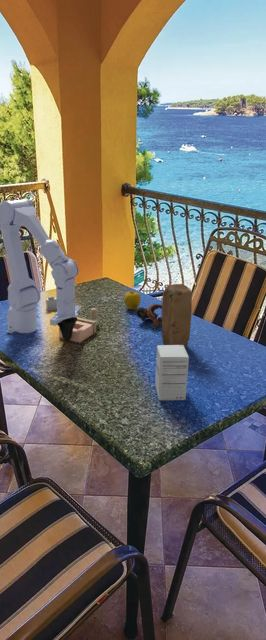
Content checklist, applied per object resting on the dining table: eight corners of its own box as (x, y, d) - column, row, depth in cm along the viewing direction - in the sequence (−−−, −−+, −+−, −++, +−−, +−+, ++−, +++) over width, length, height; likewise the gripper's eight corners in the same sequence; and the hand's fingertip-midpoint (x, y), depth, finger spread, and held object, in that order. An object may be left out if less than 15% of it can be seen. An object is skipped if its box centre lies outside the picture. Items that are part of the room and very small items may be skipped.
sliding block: (59, 337, 151) (59, 327, 150) (72, 329, 158) (72, 320, 156) (79, 342, 148) (79, 332, 146) (92, 334, 154) (92, 324, 153)
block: (190, 350, 147) (195, 290, 140) (168, 352, 145) (172, 292, 138) (178, 336, 157) (182, 280, 150) (157, 338, 155) (160, 282, 148)
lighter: (47, 310, 177) (46, 290, 175) (46, 309, 179) (45, 289, 176) (65, 308, 180) (64, 289, 177) (63, 307, 182) (63, 287, 179)
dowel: (89, 328, 162) (89, 309, 160) (93, 325, 164) (92, 307, 162) (95, 329, 161) (95, 310, 159) (98, 327, 163) (98, 308, 161)
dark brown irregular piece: (163, 318, 174) (170, 304, 168) (162, 337, 168) (170, 323, 162) (133, 311, 172) (139, 296, 166) (131, 330, 166) (137, 315, 160)
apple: (121, 307, 183) (121, 288, 180) (135, 305, 185) (136, 286, 182) (128, 312, 177) (128, 293, 175) (142, 310, 180) (143, 291, 177)
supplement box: (154, 386, 125) (156, 344, 120) (181, 386, 125) (184, 344, 121) (157, 401, 118) (160, 356, 113) (186, 400, 118) (189, 356, 114)
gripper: (63, 308, 135) (64, 350, 140) (89, 295, 147) (89, 333, 152) (43, 304, 138) (45, 345, 143) (70, 291, 150) (71, 329, 155)
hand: (66, 339), depth 148 cm, fingers closed
